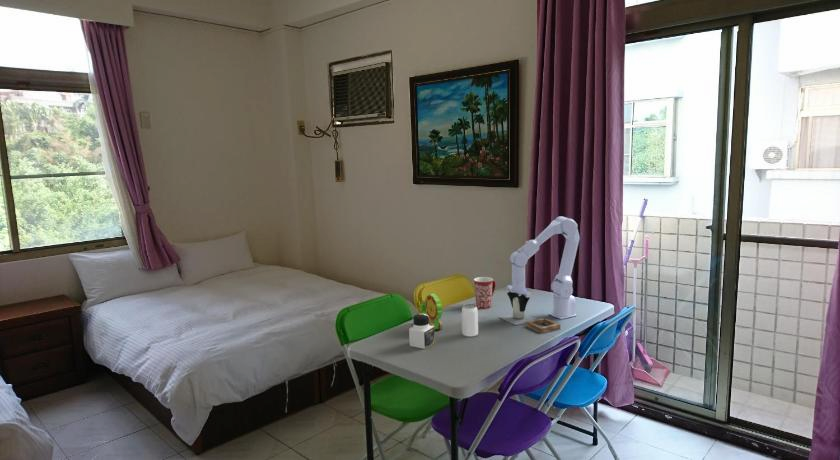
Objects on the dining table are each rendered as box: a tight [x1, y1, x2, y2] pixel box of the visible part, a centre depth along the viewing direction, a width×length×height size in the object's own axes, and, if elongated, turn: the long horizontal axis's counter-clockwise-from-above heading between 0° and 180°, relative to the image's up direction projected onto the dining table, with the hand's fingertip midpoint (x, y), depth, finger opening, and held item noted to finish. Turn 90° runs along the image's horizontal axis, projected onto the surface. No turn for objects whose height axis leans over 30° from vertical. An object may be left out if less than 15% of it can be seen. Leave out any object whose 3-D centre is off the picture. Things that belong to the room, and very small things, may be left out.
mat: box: [498, 313, 537, 326], centre depth 228 cm, size 12×12×1 cm
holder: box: [525, 317, 561, 334], centre depth 217 cm, size 10×10×2 cm
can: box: [461, 303, 479, 338], centre depth 211 cm, size 6×6×12 cm
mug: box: [473, 276, 496, 310], centre depth 248 cm, size 13×9×14 cm
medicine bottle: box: [408, 313, 435, 350], centre depth 201 cm, size 7×7×12 cm
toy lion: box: [420, 293, 444, 331], centre depth 220 cm, size 16×6×15 cm, turn 27°
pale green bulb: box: [512, 297, 525, 318], centre depth 228 cm, size 5×5×8 cm
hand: (518, 309), depth 228 cm, fingers open, 5 cm apart
